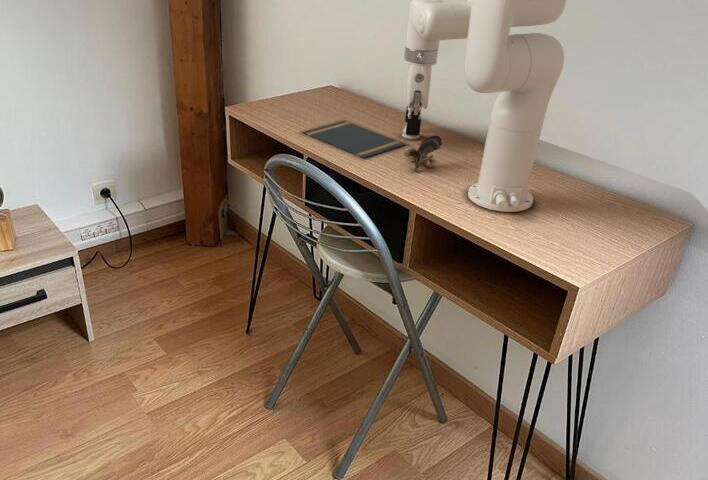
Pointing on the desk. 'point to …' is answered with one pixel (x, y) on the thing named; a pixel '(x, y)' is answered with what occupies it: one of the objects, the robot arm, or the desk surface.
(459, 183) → the desk surface
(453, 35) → the robot arm
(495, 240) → the desk surface
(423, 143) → the brown toy squirrel
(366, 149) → the placemat
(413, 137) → the rook chess piece
